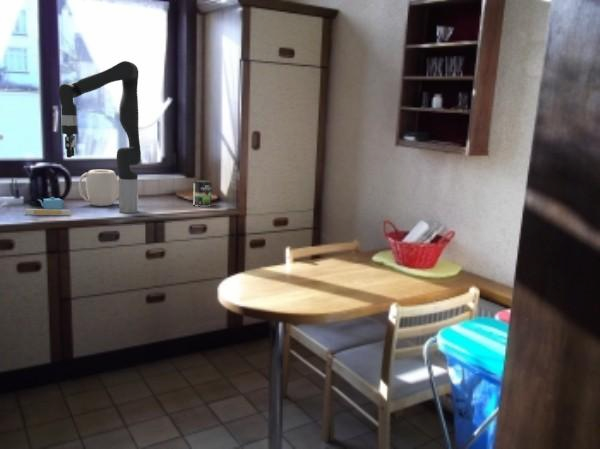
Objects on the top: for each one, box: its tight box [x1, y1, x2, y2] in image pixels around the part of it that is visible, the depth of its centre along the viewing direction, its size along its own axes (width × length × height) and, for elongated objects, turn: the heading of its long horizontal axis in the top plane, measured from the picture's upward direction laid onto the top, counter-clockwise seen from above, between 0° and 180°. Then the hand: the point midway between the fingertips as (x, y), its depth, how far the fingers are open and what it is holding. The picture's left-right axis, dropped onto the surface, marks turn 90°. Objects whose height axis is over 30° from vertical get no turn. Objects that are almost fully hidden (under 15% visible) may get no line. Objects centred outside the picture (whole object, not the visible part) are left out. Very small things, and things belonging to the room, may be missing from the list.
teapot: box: [38, 196, 65, 210], centre depth 274 cm, size 12×6×8 cm, turn 124°
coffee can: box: [192, 179, 213, 208], centre depth 322 cm, size 10×10×14 cm
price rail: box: [24, 208, 71, 216], centre depth 269 cm, size 20×2×2 cm, turn 100°
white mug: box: [77, 168, 119, 207], centre depth 308 cm, size 16×27×19 cm, turn 126°
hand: (70, 156), depth 288 cm, fingers open, 8 cm apart
